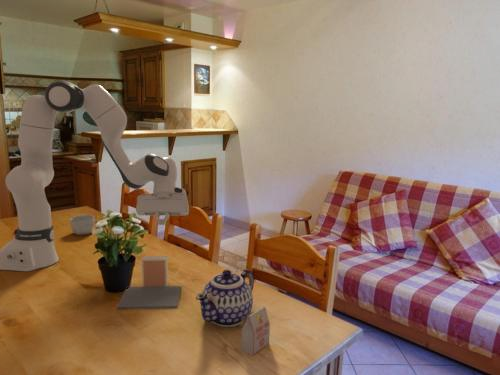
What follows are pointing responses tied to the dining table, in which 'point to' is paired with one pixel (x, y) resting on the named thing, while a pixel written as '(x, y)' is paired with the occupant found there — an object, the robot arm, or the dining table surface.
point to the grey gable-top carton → (256, 332)
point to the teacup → (82, 224)
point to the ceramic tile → (154, 271)
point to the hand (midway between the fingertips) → (161, 224)
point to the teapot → (227, 298)
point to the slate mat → (150, 297)
